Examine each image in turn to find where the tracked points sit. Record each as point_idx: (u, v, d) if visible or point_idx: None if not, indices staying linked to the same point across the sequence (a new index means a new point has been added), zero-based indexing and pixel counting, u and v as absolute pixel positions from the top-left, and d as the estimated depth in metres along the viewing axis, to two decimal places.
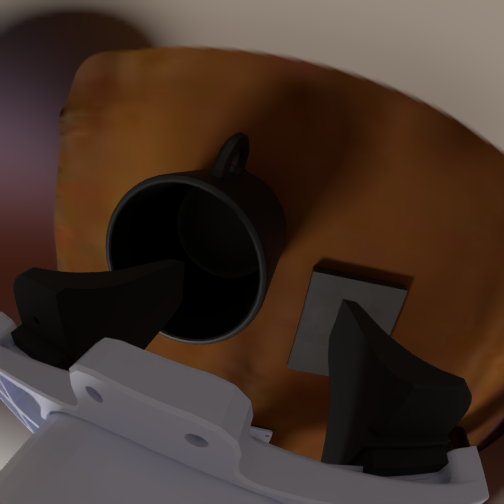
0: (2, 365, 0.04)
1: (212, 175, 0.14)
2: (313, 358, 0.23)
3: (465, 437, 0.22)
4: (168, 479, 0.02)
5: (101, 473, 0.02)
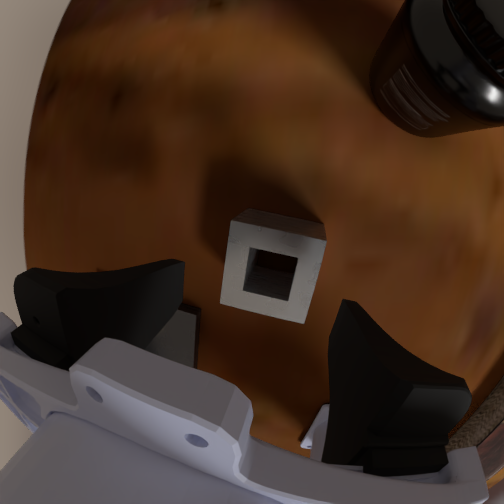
0: (2, 365, 0.04)
1: None
2: None
3: (379, 47, 0.11)
4: (168, 479, 0.02)
5: (101, 473, 0.02)
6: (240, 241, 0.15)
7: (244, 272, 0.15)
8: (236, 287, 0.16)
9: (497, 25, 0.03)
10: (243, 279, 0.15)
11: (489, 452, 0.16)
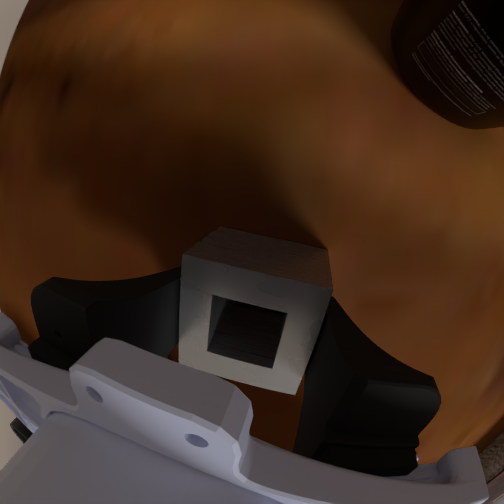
0: (2, 365, 0.04)
1: None
2: None
3: None
4: (168, 479, 0.02)
5: (101, 473, 0.02)
6: (198, 285, 0.09)
7: (207, 328, 0.10)
8: (198, 346, 0.10)
9: None
10: (207, 337, 0.10)
11: (499, 484, 0.11)
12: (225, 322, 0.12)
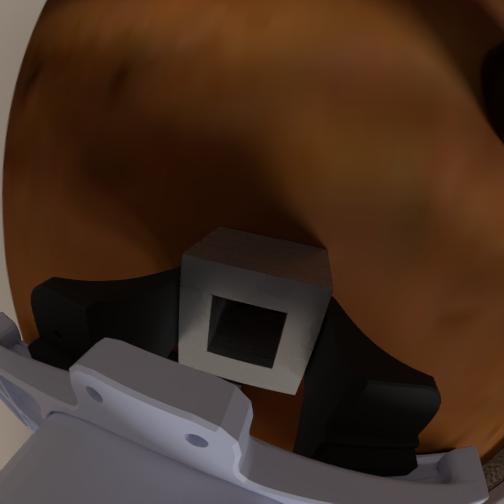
0: (2, 365, 0.04)
1: None
2: None
3: (503, 48, 0.05)
4: (168, 479, 0.02)
5: (101, 473, 0.02)
6: (198, 285, 0.09)
7: (207, 328, 0.10)
8: (198, 346, 0.10)
9: None
10: (206, 337, 0.10)
11: None
12: (225, 322, 0.12)
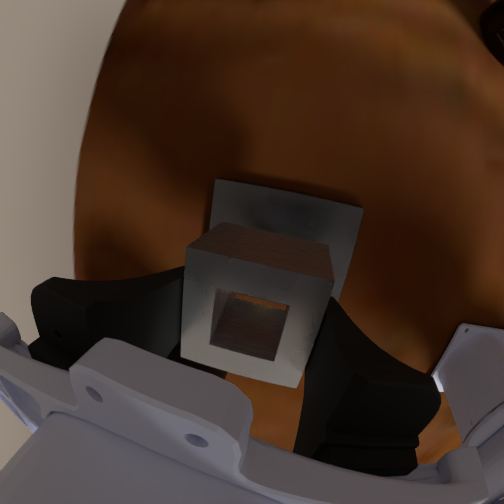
0: (2, 365, 0.04)
1: None
2: None
3: (489, 8, 0.07)
4: (168, 479, 0.02)
5: (101, 473, 0.02)
6: (201, 278, 0.10)
7: (210, 321, 0.10)
8: (200, 339, 0.10)
9: None
10: (209, 330, 0.10)
11: None
12: (227, 316, 0.12)
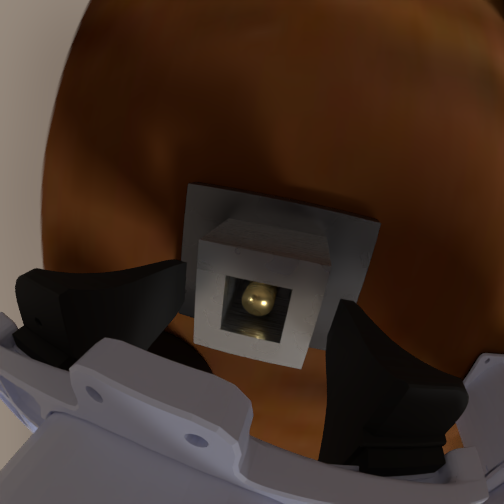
0: (2, 365, 0.04)
1: None
2: None
3: None
4: (168, 479, 0.02)
5: (101, 473, 0.02)
6: (213, 267, 0.11)
7: (221, 307, 0.11)
8: (212, 325, 0.12)
9: None
10: (220, 315, 0.11)
11: None
12: (235, 305, 0.14)
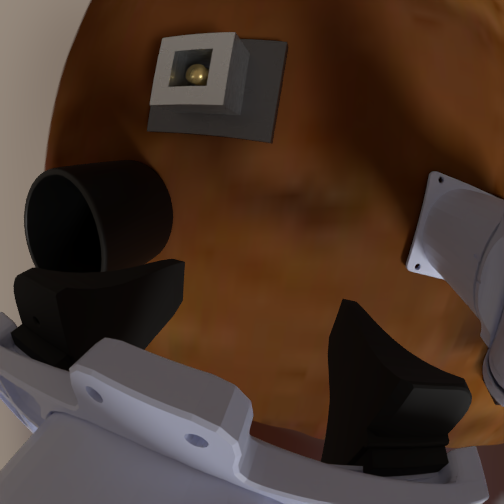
0: (2, 365, 0.04)
1: None
2: (248, 111, 0.18)
3: None
4: (168, 479, 0.02)
5: (101, 473, 0.02)
6: (168, 49, 0.13)
7: (170, 71, 0.14)
8: (163, 85, 0.14)
9: None
10: (169, 77, 0.14)
11: None
12: None
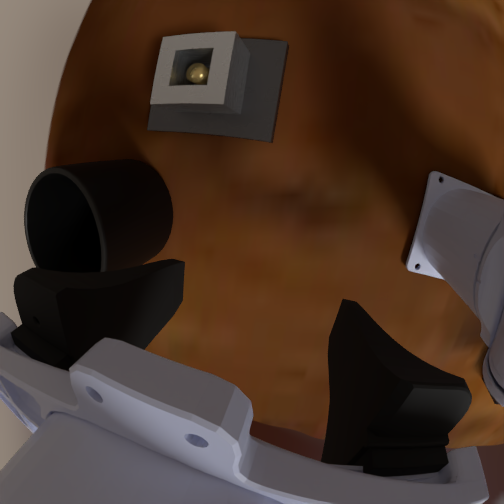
0: (2, 365, 0.04)
1: None
2: (248, 110, 0.18)
3: None
4: (168, 479, 0.02)
5: (101, 473, 0.02)
6: (169, 48, 0.13)
7: (170, 70, 0.14)
8: (164, 84, 0.14)
9: None
10: (169, 76, 0.14)
11: None
12: None
